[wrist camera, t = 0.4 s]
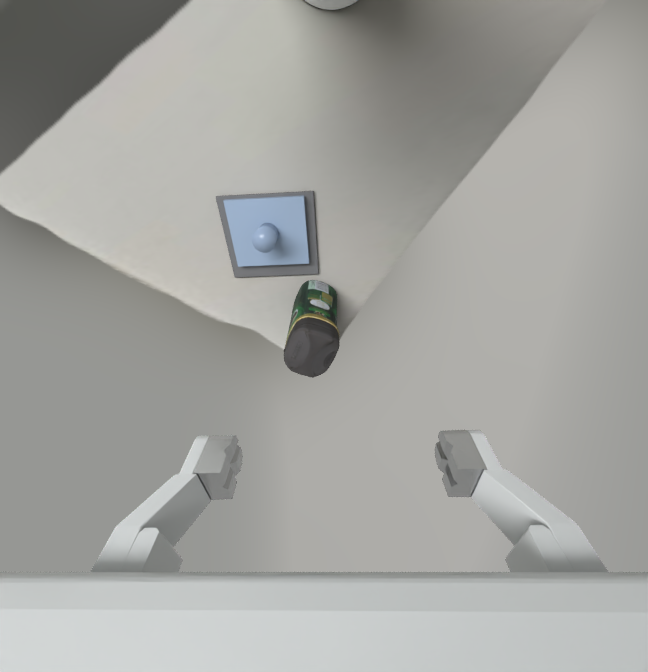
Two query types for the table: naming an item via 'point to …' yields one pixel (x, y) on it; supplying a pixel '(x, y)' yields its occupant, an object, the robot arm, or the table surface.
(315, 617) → the robot arm
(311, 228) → the mat
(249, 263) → the lid
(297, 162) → the table surface
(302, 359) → the coffee jar
